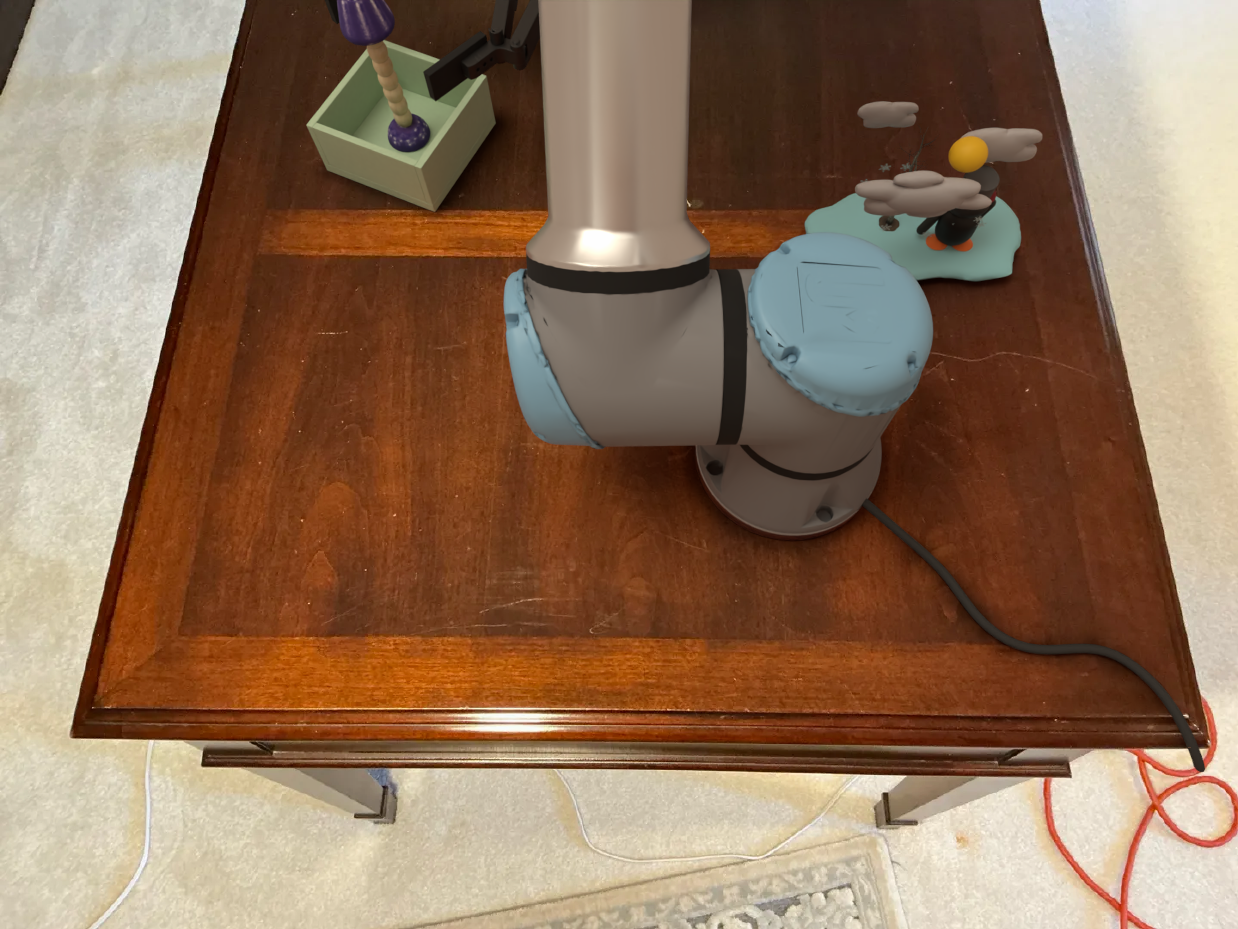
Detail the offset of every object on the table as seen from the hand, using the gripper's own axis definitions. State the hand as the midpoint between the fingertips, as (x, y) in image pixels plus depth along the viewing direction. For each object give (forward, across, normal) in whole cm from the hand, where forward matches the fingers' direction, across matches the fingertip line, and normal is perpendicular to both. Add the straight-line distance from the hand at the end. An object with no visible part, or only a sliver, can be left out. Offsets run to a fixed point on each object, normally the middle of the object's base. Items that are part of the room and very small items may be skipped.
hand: (377, 47), depth 74 cm
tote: (0, 0, -12) cm, 12 cm away
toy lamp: (0, +1, -11) cm, 11 cm away
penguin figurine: (-24, -44, -12) cm, 51 cm away
